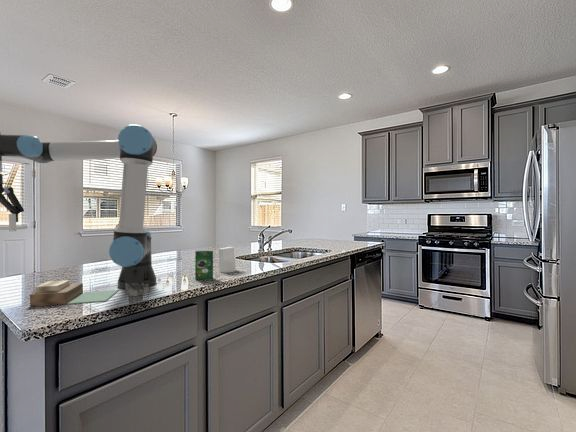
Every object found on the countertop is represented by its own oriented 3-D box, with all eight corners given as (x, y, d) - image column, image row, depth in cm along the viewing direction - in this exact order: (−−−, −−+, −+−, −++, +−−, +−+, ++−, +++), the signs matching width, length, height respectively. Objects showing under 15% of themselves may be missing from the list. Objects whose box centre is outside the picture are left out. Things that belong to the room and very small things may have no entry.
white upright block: (227, 273, 160) (226, 249, 159) (214, 271, 164) (213, 248, 164) (239, 270, 167) (238, 247, 167) (226, 268, 172) (225, 246, 172)
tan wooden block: (83, 293, 123) (82, 283, 123) (67, 303, 110) (66, 292, 110) (50, 295, 121) (50, 285, 121) (30, 306, 107) (29, 294, 107)
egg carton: (150, 294, 121) (150, 284, 121) (128, 298, 117) (128, 287, 117) (145, 289, 130) (144, 279, 130) (124, 292, 126) (124, 281, 126)
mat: (118, 290, 127) (118, 289, 127) (106, 301, 112) (106, 300, 112) (85, 292, 125) (85, 291, 125) (67, 304, 109) (67, 303, 109)
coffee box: (213, 277, 149) (212, 249, 149) (213, 278, 147) (213, 250, 146) (195, 278, 147) (194, 250, 147) (195, 280, 144) (194, 251, 144)
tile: (69, 285, 120) (69, 280, 120) (58, 291, 111) (58, 285, 111) (48, 286, 118) (48, 281, 118) (35, 292, 110) (35, 286, 110)
